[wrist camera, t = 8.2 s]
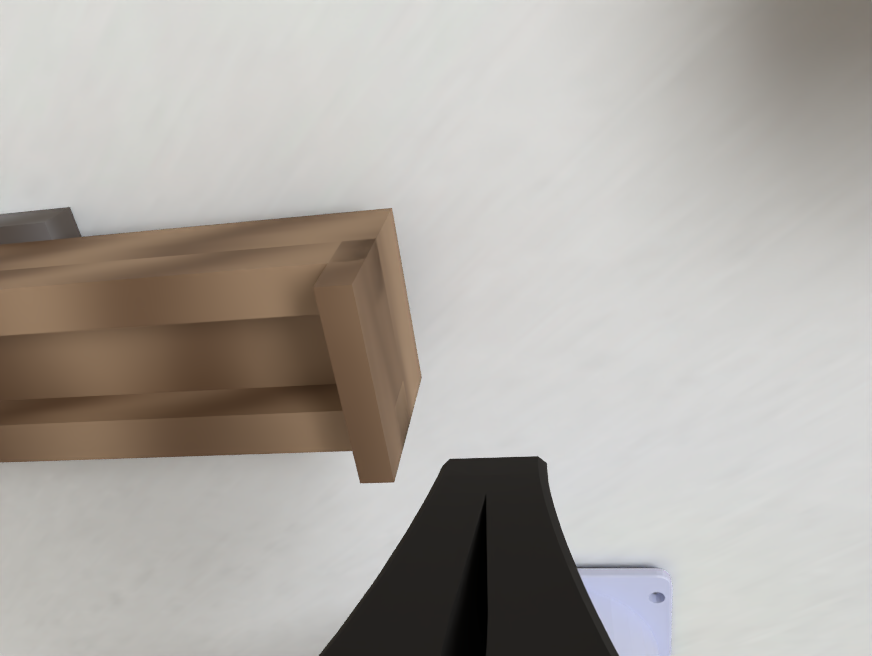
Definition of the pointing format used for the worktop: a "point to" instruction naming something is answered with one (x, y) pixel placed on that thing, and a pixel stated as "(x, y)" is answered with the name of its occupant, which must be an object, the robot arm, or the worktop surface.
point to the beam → (206, 340)
